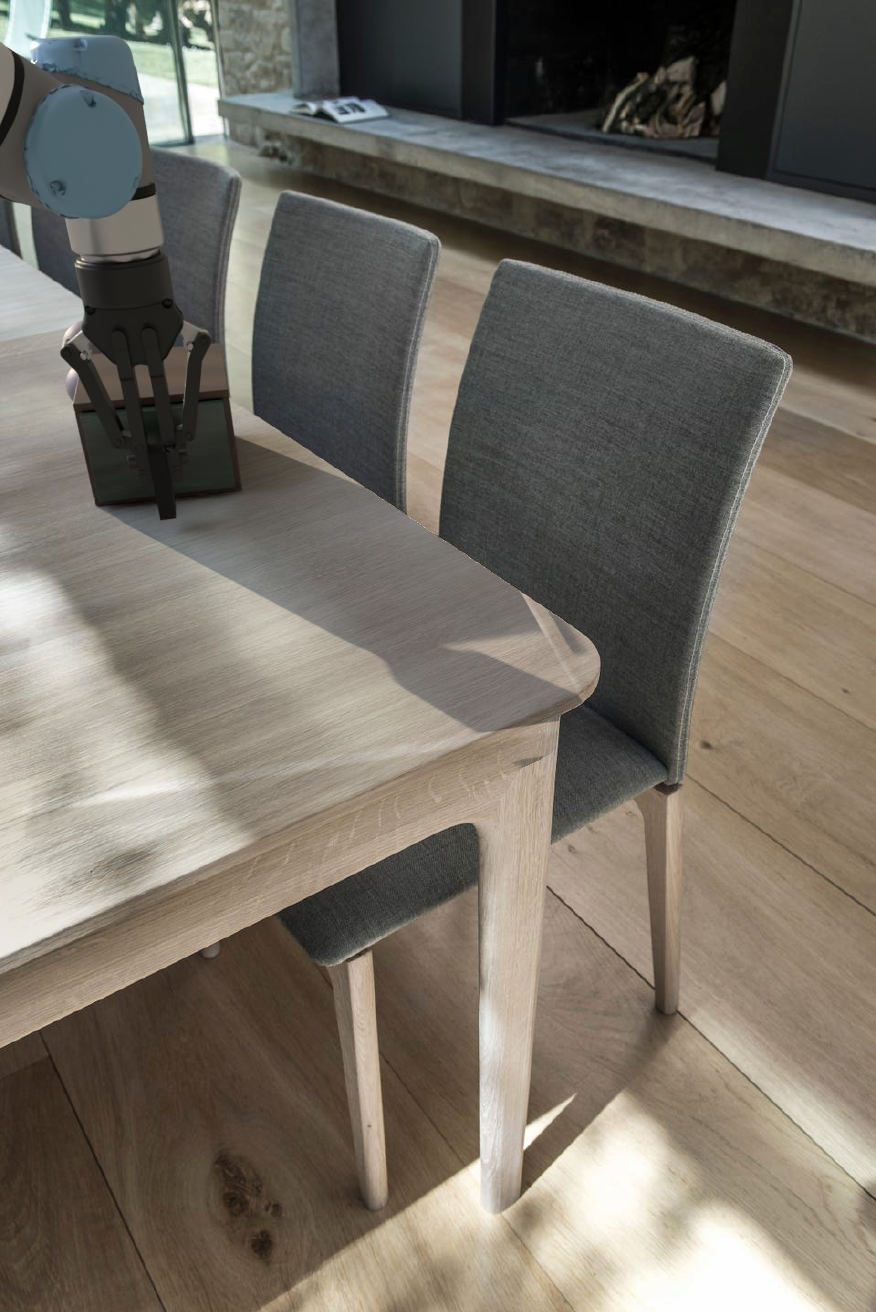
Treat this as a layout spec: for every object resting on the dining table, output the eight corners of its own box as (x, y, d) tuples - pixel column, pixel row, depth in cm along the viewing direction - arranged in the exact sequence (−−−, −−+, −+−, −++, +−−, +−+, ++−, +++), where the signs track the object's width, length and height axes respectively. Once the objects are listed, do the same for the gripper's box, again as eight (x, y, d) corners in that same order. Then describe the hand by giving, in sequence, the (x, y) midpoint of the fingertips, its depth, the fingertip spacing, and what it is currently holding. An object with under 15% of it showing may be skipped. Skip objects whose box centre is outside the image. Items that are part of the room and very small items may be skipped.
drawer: (238, 506, 102) (225, 420, 97) (96, 522, 100) (76, 435, 95) (228, 435, 118) (217, 357, 113) (105, 447, 116) (89, 369, 111)
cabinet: (242, 490, 108) (228, 389, 102) (95, 506, 105) (72, 404, 99) (233, 434, 120) (221, 342, 114) (103, 448, 118) (83, 354, 112)
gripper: (199, 237, 91) (236, 490, 103) (43, 249, 89) (100, 505, 101) (200, 255, 85) (239, 521, 97) (32, 268, 83) (95, 538, 95)
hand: (168, 513), depth 99 cm, fingers closed
